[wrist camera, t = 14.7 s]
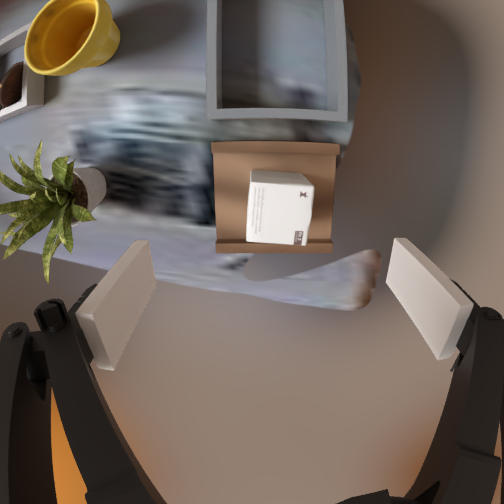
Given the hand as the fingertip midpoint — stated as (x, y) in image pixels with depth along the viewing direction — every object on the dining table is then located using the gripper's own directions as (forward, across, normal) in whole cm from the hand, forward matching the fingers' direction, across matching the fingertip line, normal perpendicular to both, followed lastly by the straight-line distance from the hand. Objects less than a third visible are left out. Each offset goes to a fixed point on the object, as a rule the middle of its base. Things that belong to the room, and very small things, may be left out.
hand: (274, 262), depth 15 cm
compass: (+22, -36, +18) cm, 46 cm away
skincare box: (+20, +1, -2) cm, 20 cm away
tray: (+21, +1, -2) cm, 21 cm away
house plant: (+21, -23, +2) cm, 31 cm away
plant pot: (+22, -20, +20) cm, 36 cm away
